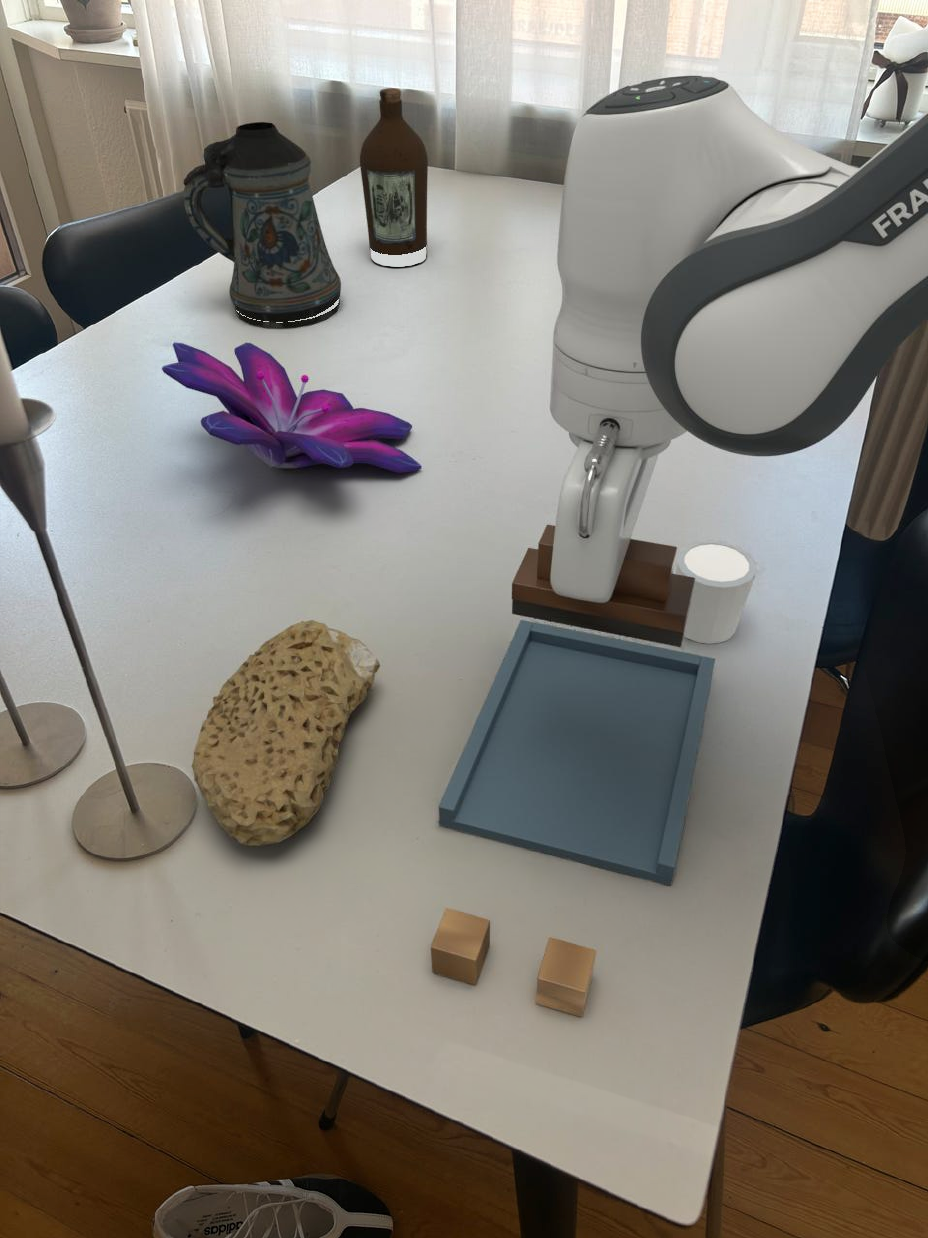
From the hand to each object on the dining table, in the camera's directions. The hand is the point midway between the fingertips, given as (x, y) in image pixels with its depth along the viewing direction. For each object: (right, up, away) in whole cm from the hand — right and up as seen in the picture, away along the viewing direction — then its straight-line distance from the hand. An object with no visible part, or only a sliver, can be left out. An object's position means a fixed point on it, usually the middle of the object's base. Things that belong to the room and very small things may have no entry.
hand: (605, 571), depth 66 cm
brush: (0, -3, +2) cm, 4 cm away
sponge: (-24, -14, +10) cm, 29 cm away
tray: (0, -13, +10) cm, 17 cm away
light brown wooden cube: (-3, -26, -6) cm, 27 cm away
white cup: (+12, -4, +22) cm, 25 cm away
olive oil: (-21, +57, +94) cm, 112 cm away
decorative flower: (-28, +15, +45) cm, 56 cm away
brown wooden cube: (-10, -24, -5) cm, 27 cm away
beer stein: (-37, +43, +78) cm, 97 cm away
